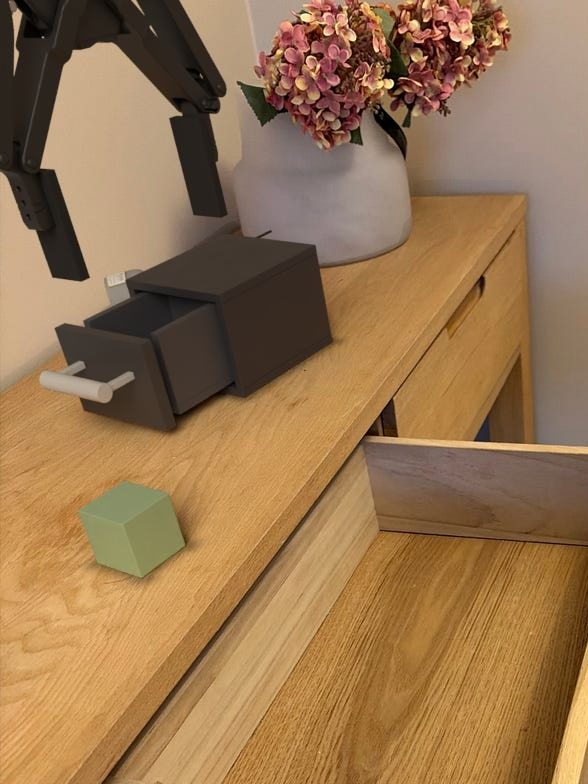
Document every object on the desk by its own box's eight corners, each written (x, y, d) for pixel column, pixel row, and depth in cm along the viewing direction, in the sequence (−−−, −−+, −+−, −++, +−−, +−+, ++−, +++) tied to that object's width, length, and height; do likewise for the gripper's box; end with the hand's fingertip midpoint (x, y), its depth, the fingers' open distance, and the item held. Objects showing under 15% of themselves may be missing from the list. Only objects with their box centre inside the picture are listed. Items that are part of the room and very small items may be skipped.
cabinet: (244, 397, 91) (219, 294, 85) (154, 378, 96) (124, 279, 90) (332, 341, 100) (315, 244, 93) (245, 326, 104) (224, 233, 98)
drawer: (130, 454, 82) (100, 366, 77) (46, 432, 86) (13, 347, 81) (260, 373, 93) (241, 291, 88) (180, 357, 97) (157, 278, 92)
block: (97, 563, 71) (76, 510, 68) (142, 532, 74) (124, 479, 71) (141, 578, 69) (122, 524, 66) (186, 545, 72) (169, 492, 69)
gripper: (-125, -139, 45) (42, 316, 58) (230, -164, 61) (297, 196, 75) (-219, -126, 48) (-40, 302, 61) (142, -153, 64) (222, 190, 78)
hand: (145, 245), depth 68 cm, fingers open, 13 cm apart
